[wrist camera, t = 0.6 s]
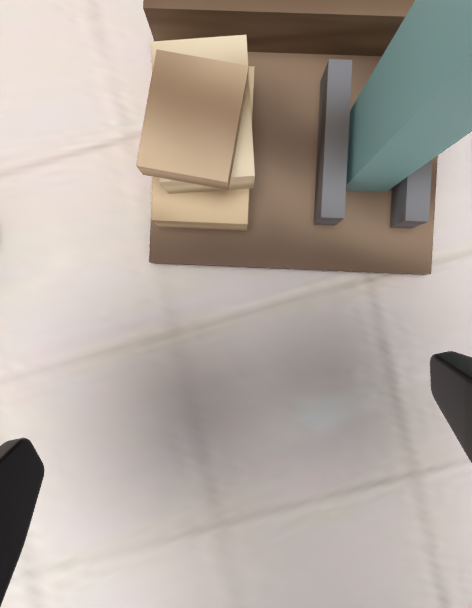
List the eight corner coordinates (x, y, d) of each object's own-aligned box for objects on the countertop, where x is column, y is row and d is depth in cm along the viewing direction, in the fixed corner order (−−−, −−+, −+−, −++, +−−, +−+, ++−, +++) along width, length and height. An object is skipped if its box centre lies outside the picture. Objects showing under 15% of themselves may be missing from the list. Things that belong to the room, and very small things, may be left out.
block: (386, 191, 21) (576, 56, 9) (341, 190, 21) (473, 53, 9) (390, 120, 21) (587, -112, 9) (345, 118, 21) (483, -115, 9)
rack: (424, 274, 22) (492, 267, 16) (152, 263, 22) (119, 251, 16) (436, 49, 22) (511, -45, 16) (160, 40, 22) (130, -56, 16)
